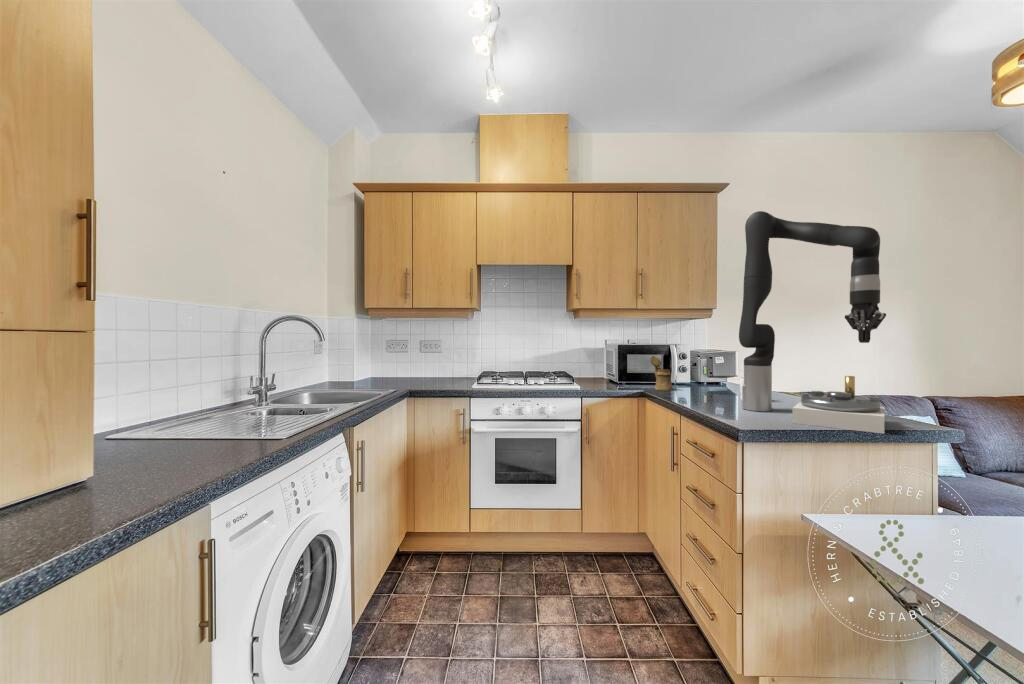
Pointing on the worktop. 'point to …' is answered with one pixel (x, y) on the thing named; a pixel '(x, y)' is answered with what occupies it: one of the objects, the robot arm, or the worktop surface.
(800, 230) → the robot arm
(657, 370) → the utensil crock with spoon
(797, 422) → the block
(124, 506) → the worktop surface
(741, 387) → the white cup
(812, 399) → the handwheel with gold grip
